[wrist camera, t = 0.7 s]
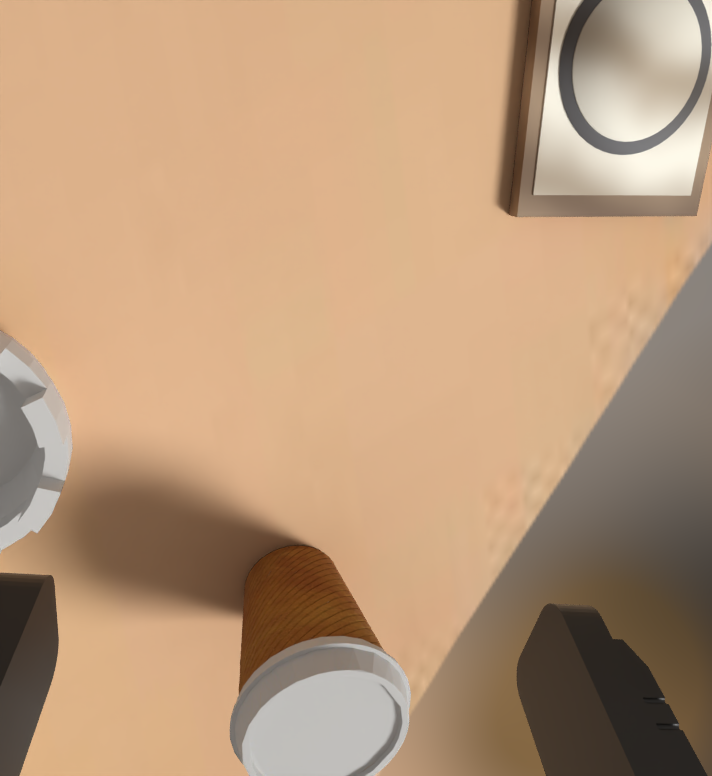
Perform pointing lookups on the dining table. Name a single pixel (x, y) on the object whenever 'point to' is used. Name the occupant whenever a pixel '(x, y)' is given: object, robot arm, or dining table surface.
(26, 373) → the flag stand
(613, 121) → the drawing board
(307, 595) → the disposable coffee cup
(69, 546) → the dining table surface
